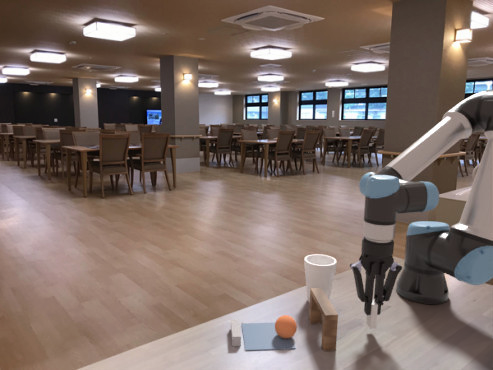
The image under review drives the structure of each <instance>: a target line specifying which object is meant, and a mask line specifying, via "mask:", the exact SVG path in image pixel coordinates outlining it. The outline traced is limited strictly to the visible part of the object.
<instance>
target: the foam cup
mask: <svg viewBox="0 0 493 370" xmlns="http://www.w3.org/2000/svg"><path fill="white" fill-rule="evenodd" d="M303 268H304V276H305V285H306V286H305V289H306V297H307V298H306V299H307V302H308V303H309V304H310V288H322V290H323V291H324V293H325V295H326V296H327V298H328V299H329V300H330V298H331V294H332V289H333V283H334V278H335V273H336V271H337V259H336V258H335V257H333V256H330V255H327V254H321V253H320V254H319V253H314V254H309V255H306V256H304V263H303Z"/></svg>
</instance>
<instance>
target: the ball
mask: <svg viewBox="0 0 493 370" xmlns="http://www.w3.org/2000/svg"><path fill="white" fill-rule="evenodd" d="M275 322H276V323H275ZM275 322H274V323H275V331H276V333H277V334H278V335H279V336H280V337H282V338H286V339H287V338H291V337H292V338H293V337H294V336H295V334H296V333H297V328H298V325H297V322H296V320H295V318H293V317H292V316H290V315H286V314H285V315H283V314H282V315H281V316H279V317H278V318H277V319H276V321H275Z"/></svg>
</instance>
